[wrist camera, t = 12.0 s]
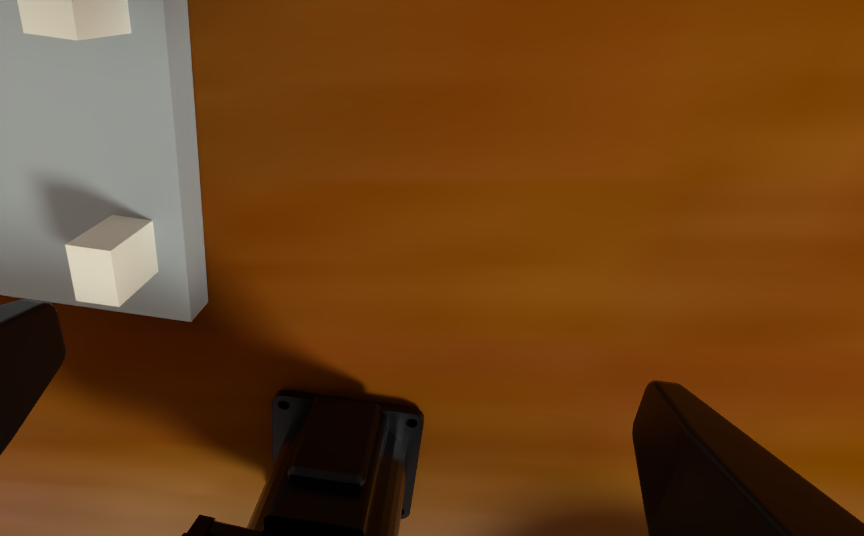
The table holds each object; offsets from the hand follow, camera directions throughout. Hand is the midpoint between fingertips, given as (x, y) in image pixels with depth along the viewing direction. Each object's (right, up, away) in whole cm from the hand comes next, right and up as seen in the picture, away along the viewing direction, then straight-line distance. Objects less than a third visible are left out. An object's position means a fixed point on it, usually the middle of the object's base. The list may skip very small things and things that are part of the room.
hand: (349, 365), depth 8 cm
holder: (-12, +7, +11) cm, 17 cm away
